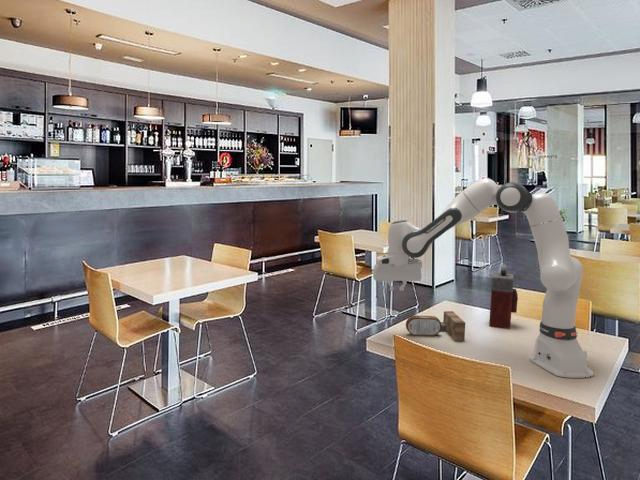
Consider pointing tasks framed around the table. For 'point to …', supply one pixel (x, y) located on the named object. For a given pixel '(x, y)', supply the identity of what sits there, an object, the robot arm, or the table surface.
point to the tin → (423, 325)
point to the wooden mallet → (453, 326)
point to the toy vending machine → (502, 299)
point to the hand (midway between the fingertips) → (396, 290)
